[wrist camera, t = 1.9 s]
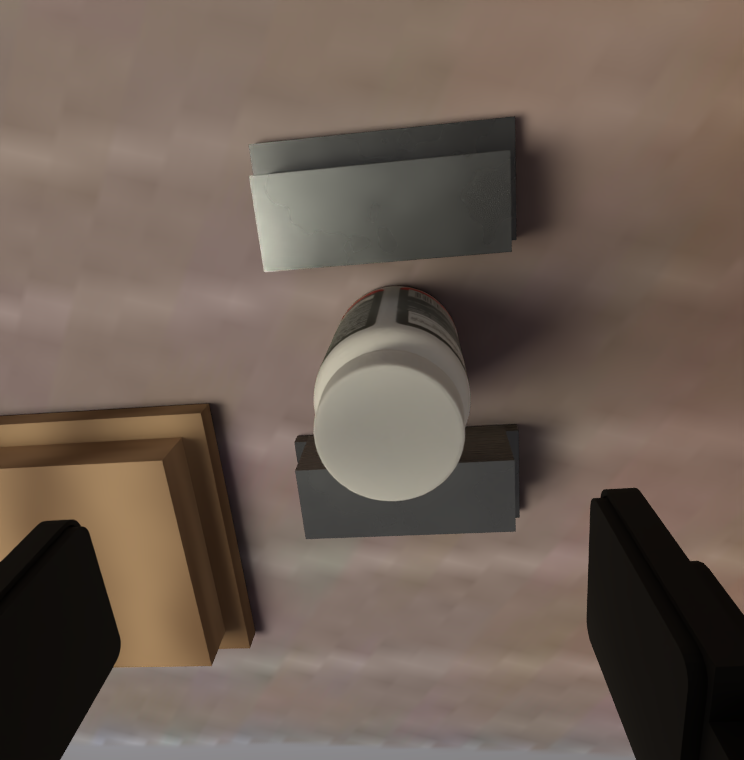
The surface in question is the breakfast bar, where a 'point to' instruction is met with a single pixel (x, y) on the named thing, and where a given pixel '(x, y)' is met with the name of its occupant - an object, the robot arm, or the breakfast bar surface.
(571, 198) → the breakfast bar surface
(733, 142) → the breakfast bar surface
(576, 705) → the breakfast bar surface
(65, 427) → the tan square pedestal
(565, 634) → the breakfast bar surface
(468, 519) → the clamp jaws
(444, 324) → the pill bottle
